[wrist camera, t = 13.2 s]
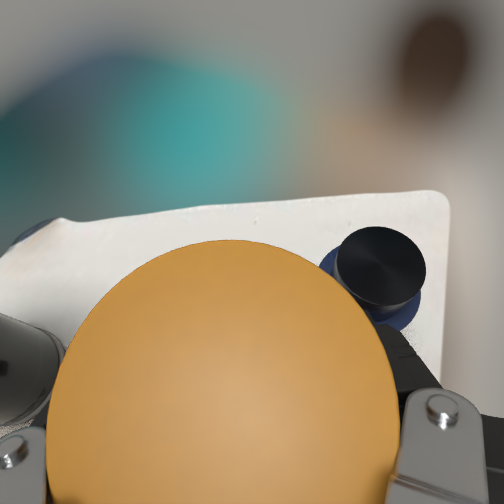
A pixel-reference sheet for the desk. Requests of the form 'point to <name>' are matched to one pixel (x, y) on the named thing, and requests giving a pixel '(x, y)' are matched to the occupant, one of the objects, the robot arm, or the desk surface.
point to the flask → (380, 273)
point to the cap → (224, 388)
